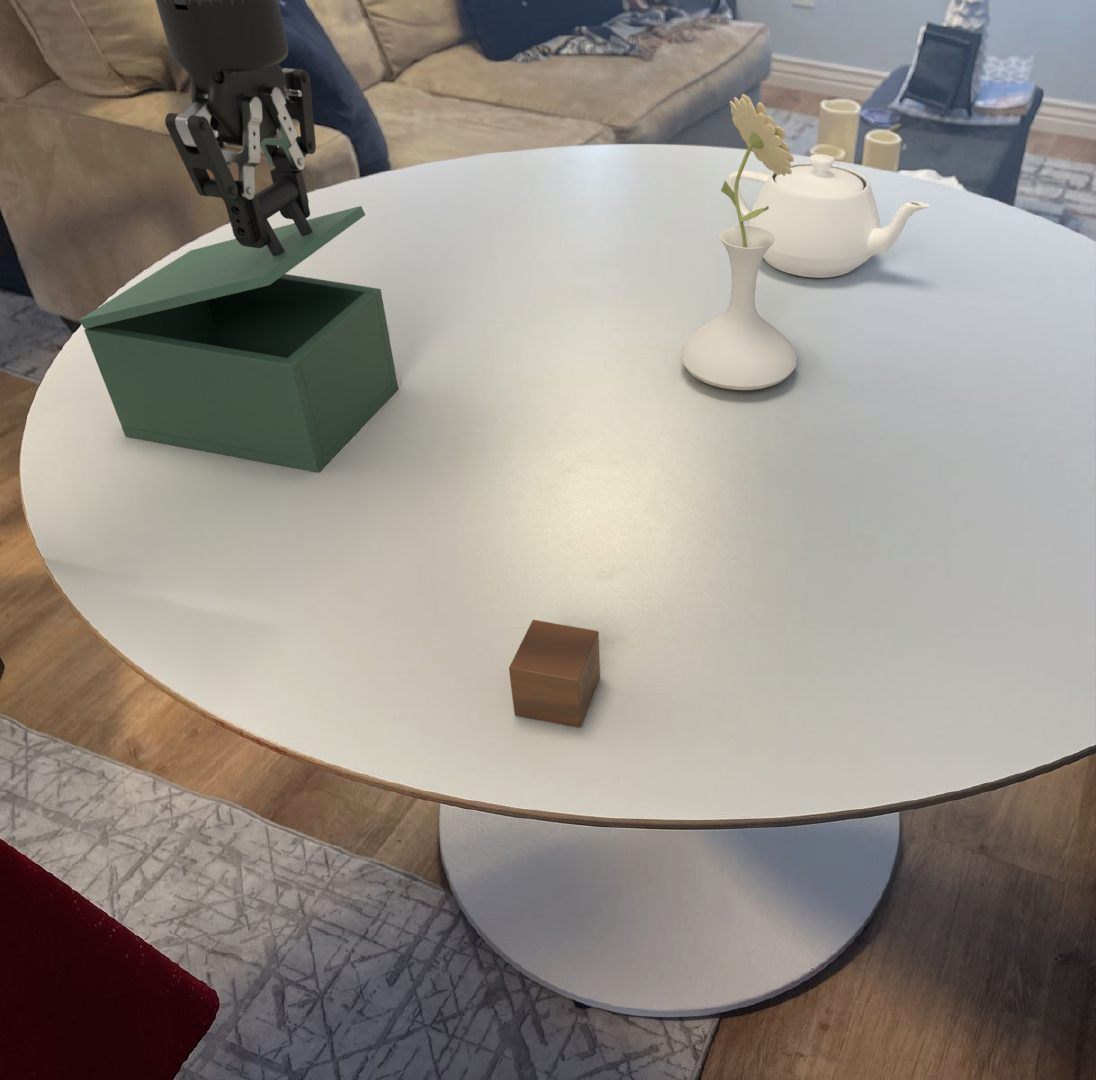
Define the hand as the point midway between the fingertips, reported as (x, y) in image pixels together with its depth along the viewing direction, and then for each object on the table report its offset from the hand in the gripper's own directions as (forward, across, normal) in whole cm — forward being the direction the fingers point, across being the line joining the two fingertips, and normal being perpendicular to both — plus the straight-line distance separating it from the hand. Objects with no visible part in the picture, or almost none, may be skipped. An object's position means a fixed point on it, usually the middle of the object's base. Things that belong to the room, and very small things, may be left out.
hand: (275, 230), depth 77 cm
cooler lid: (+4, 0, -5) cm, 7 cm away
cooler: (+17, 0, -6) cm, 18 cm away
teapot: (+18, -49, +36) cm, 63 cm away
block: (+18, +24, +31) cm, 43 cm away
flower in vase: (+18, -21, +33) cm, 43 cm away
